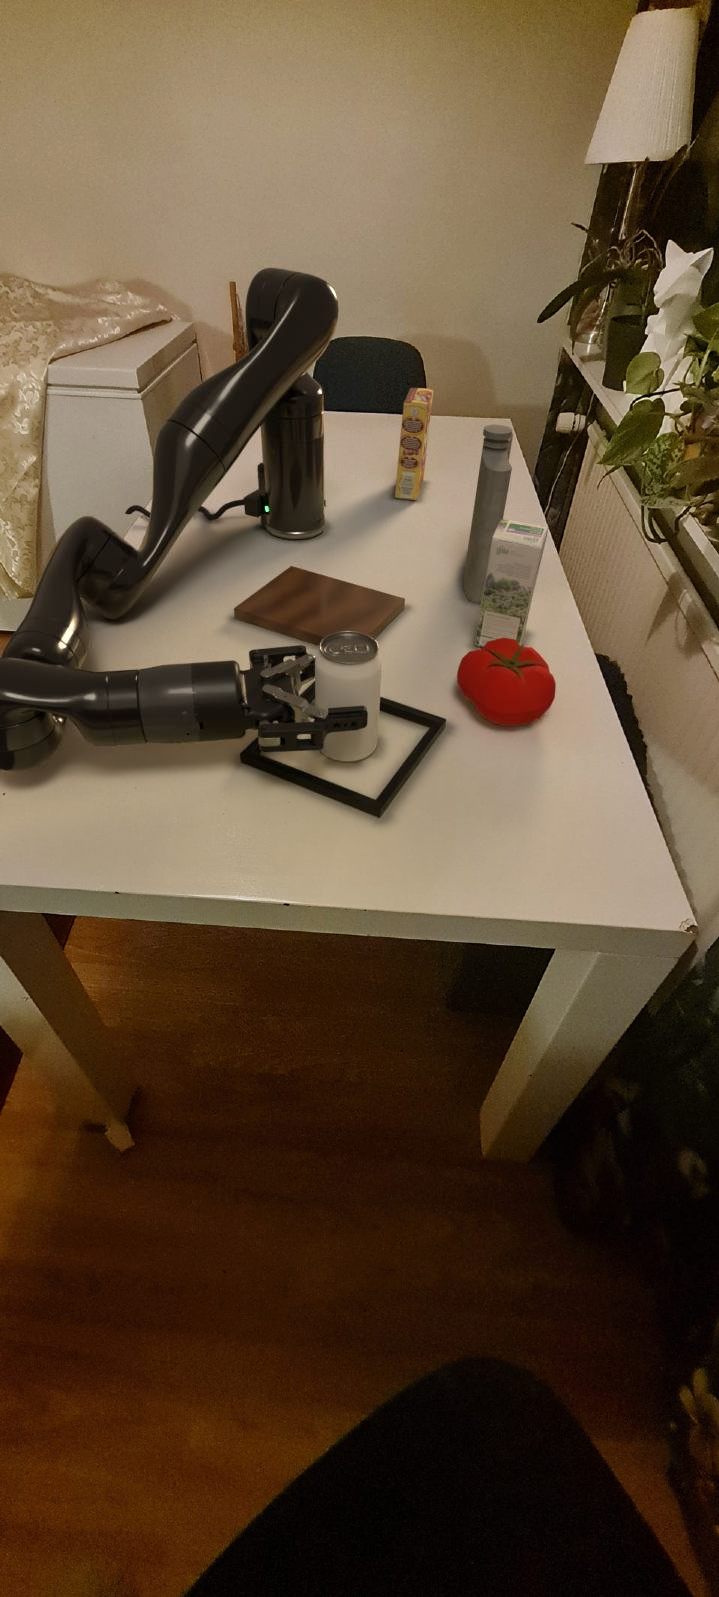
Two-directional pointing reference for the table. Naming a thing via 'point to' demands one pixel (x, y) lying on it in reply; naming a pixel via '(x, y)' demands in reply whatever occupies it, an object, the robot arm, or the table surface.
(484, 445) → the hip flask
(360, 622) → the board
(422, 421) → the candy box
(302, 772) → the black square frame
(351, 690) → the can
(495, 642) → the tomato
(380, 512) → the table surface
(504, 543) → the syrup box
